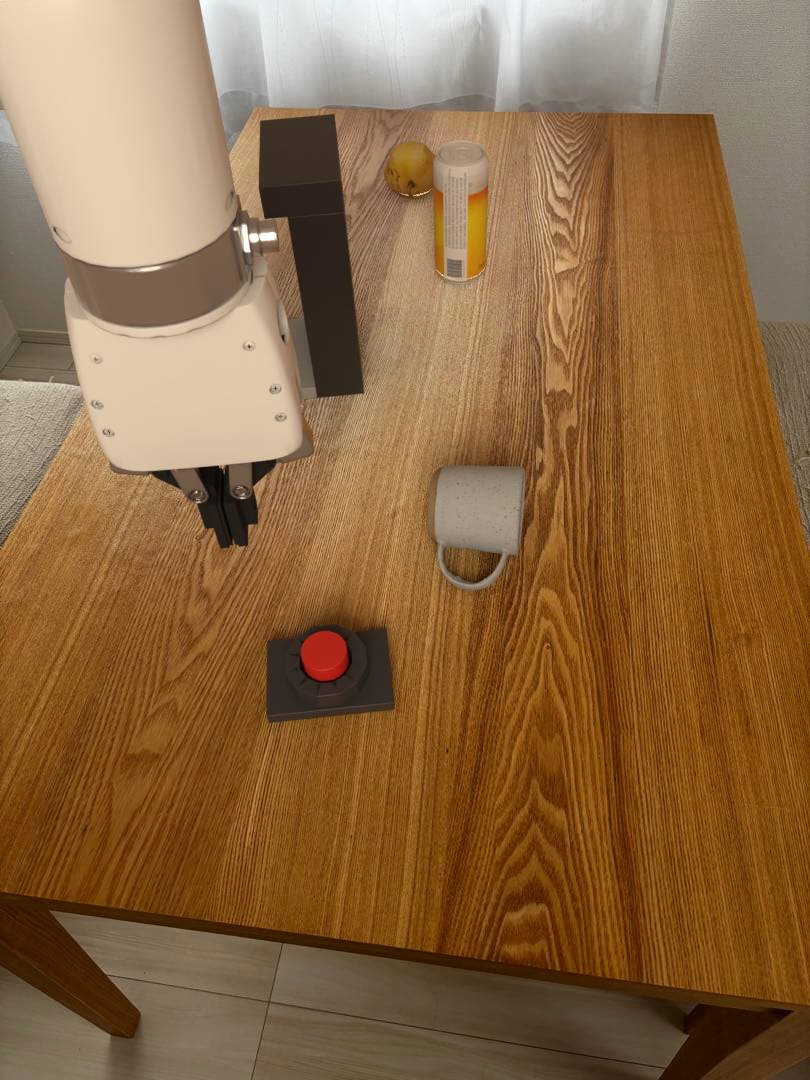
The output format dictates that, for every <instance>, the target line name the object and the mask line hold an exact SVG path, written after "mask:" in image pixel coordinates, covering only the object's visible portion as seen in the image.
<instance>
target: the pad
mask: <svg viewBox="0 0 810 1080" xmlns="http://www.w3.org/2000/svg"><path fill="white" fill-rule="evenodd" d="M320 631H331V632H334V633H337V634H338V635H340V636H341V637H342V638H343V639H344V641H345V643H346V646H347V651H348V657H349V663H348V667H347V669H346V670H345V672H344V673H343V674H342V675H341V676H339V677H338V678H336V679H334V680H331V681H318V680H315V679H313V678H312V677H310V676H309V675H308V674H307V673H306V671H305V669H304V665H303V661H302V658H301V648H302V645H303V643H304V642H305V640H306V639H307V638H308V637H309V636H311V635H312V634H314V633H317V632H320ZM388 639H389V637H388V630H387V628H377V629H367V630H358V631H354V630H353V629H350V628H347V627H344V626H341V625H338V624H336V623H331V624H322V625H314V626H311V627H310V628H308V629H306V630H305V631H303V632H301V633H300V634H298V635H297V636H295V637H290V638H280V639H271V640H267V641H266V701H265V702H266V713H265V716H266V719H267V722H268V723H269V724H273V723H281V722H290V721H292V722H293V721H301V720H310V719H319V718H320V719H321V718H328V717H338V716H339V717H340V716H348V715H356V714H365V713H366V714H367V713H375V712H385V711H386V712H387V711H393V710H395V701H394V700H395V699H394V690H393V689H394V688H393V678H392V669H391V658H390V647H389V640H388Z"/></svg>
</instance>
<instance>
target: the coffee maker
mask: <svg viewBox="0 0 810 1080" xmlns="http://www.w3.org/2000/svg"><path fill="white" fill-rule="evenodd" d="M258 158H259V159H258V192H259V193H258V194H259V198H260V203H261V209H262V214H263V218H264V219H263V220H272V219H281V218H287V223H288V224H287V225H288V230H289V234H290V241H291V242H290V243H291V247H292V254H293V260H294V266H295V272H296V278H297V286H298V290H299V296H300V297H299V298H300V303H301V308H302V316H303V318H302V317H300V318H290V319H289V318H288V323H289V327H290V331H291V335H292V339H293V344H294V348H295V353H296V357H297V362H298V367H299V372H300V377H301V384H302V392H303V400H310V399H321V398H328V397H330V398H331V397H340V396H341V397H342V396H348V395H361V394H365V389H364V378H363V369H362V368H363V367H362V357H361V347H360V337H359V336H360V335H359V328H358V317H357V307H356V300H355V299H356V297H355V290H354V281H353V280H354V279H353V271H352V260H351V254H350V253H351V251H350V244H349V243H350V242H349V234H348V233H349V232H348V224H347V216H346V215H347V213H346V207H345V196H344V188H343V186H344V185H343V177H342V170H341V158H340V151H339V140H338V132H337V124H336V115H335V113H329V114H319V115H309V116H308V115H307V116H296V117H285V118H274V119H263V120H260V121H259V151H258Z"/></svg>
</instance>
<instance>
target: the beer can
mask: <svg viewBox="0 0 810 1080" xmlns="http://www.w3.org/2000/svg"><path fill="white" fill-rule="evenodd" d="M489 171H490V159H489V157H488V155H487V153H486V149H485V147H484V146H483V145H482V144H481V143H479V142H477V141H475V140H474V141H473V140H468V139H456V140H450V141H447V142H445V143H443V144H441V145H440V146H439V147H438V148H437V150H436V154H435V158H434V160H433V189H432V190H433V232H434V233H433V234H434V270H435V272H436V273H437V275H439V276H440V278H441V279H442V280H443V281H444V282H446V283H448V284H451V285H457V286H459V285H460V286H461V285H463V286H464V285H469V284H471V283H474V282H476V281H477V280H478V279H480V277H481V275H483V274H484V272H485V270H486V267H487V266H486V267H485V264H487V241H488V240H487V234H488V205H489V204H488V203H489V178H490V177H489V174H490V173H489ZM435 267H436V269H437V270H438V271H439V272H440V273H441V274H443V275H445V276H448V277H451V278H457V279H463V278H470V277H473V276H475V275H478V274H479V273H480V272H481V271H482V270H483V269H484V267H485V270H484V271H483V272H482V273H481V274H480V275H479V276H477V277H475V278H472V279H468V280H451V279H448V278H445V277H443V276H441V275H440V274H439V273H438V272H437V271H436V269H435Z"/></svg>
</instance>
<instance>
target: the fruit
mask: <svg viewBox="0 0 810 1080" xmlns="http://www.w3.org/2000/svg"><path fill="white" fill-rule="evenodd" d="M435 156H436V154H435V153H434V152H433V151H432V150H431V149H430V148H429V146H428V145H426V144H425V143H423V142H418V141H406V142H402V143H400V144H397V146H395V147H394V148H393V150H392V151H391V152H390V155H389V158H388V160H387V163H386V164H385V166H384V167H385V168H384V170H383V177H384V179H385V182H386V184H387V186H388V187H389V188H390V189H391V190H392V191H394V192H395V193H397V192H398V193H397V194H399V193H403V194H408V195H409V196H405V195H401V194H399V195H400V196H402V197H403V198H408V199H421V198H423V197H425V196H427V195H428V194H429V193H430V192H428V193H426V194H423V195H420V196H413V195H416V194H420V193H424V192H427V191H429V190H430V189H432V188H433V160H434V158H435ZM432 190H433V189H432Z"/></svg>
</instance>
